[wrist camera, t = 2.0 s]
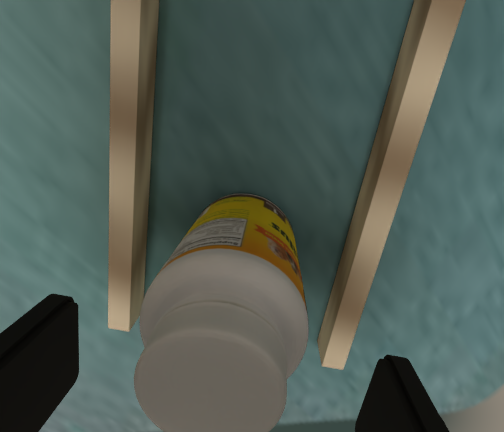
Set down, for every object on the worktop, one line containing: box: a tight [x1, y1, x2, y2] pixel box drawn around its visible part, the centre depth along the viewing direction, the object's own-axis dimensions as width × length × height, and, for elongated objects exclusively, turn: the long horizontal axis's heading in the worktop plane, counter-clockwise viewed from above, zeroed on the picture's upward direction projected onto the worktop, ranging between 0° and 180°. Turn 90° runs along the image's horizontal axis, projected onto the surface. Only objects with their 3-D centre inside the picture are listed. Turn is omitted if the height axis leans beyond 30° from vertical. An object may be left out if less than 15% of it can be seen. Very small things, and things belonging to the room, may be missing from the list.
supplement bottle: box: [134, 193, 308, 432], centre depth 13 cm, size 6×6×10 cm
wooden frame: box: [108, 0, 466, 370], centre depth 14 cm, size 24×13×4 cm, turn 171°
